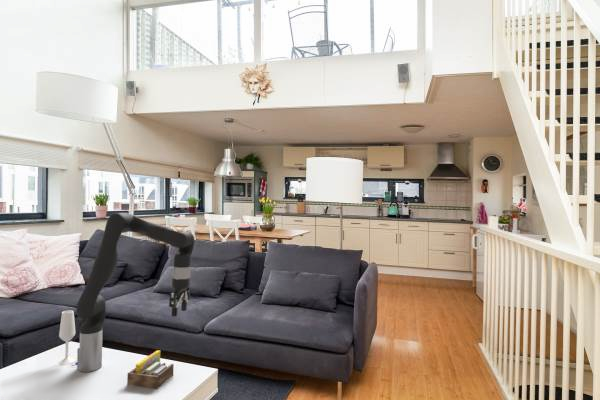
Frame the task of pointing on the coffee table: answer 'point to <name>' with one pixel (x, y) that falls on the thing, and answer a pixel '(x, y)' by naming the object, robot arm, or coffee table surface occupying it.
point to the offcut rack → (150, 377)
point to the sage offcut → (152, 367)
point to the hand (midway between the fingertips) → (179, 313)
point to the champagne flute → (67, 332)
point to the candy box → (148, 361)
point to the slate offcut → (159, 370)
